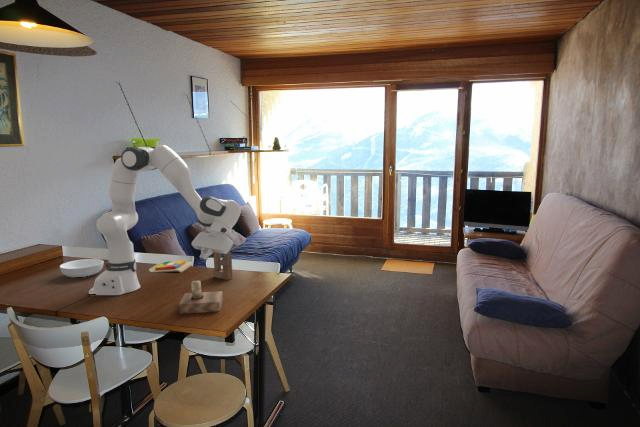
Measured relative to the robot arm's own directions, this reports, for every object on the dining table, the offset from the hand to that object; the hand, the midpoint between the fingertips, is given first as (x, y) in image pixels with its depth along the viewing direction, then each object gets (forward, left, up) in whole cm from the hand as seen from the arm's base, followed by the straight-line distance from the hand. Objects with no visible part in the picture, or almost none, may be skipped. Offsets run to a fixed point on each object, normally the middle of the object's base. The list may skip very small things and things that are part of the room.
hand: (202, 258), depth 188 cm
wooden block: (+4, +38, -20) cm, 43 cm away
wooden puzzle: (-27, +63, -21) cm, 71 cm away
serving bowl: (-72, +57, -20) cm, 94 cm away
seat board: (-1, -3, -20) cm, 20 cm away
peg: (-3, -3, -20) cm, 21 cm away
